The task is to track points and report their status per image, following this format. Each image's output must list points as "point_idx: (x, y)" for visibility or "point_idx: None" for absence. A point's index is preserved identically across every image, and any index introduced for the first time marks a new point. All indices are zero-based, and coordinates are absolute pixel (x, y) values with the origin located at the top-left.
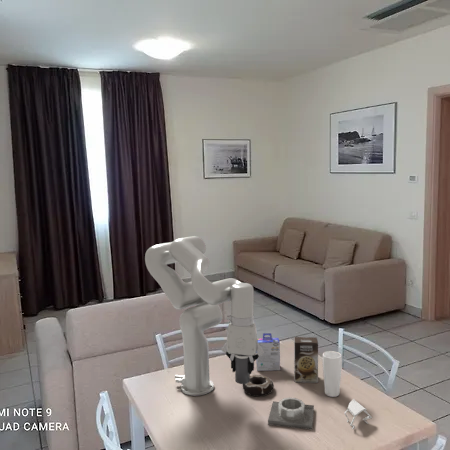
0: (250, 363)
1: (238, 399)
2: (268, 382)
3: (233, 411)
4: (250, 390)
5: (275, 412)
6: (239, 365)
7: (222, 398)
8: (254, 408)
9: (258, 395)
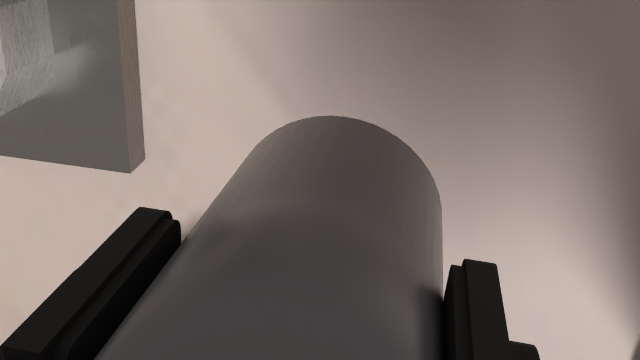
0: (13, 341)
1: None
2: None
3: (455, 49)
4: None
5: (72, 4)
6: (310, 300)
7: (562, 243)
8: (279, 109)
9: None
